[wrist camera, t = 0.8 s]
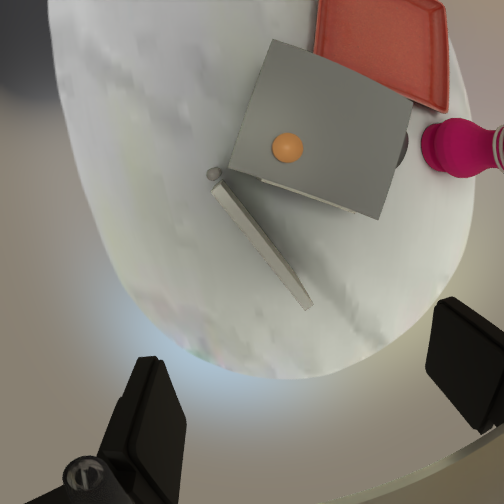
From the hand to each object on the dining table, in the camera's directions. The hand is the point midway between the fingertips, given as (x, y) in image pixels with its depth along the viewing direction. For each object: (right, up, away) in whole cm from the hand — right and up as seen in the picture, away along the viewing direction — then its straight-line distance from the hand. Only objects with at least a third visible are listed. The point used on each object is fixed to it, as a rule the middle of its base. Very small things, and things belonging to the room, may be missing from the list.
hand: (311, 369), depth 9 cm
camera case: (+4, +16, +22) cm, 28 cm away
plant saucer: (+14, +31, +19) cm, 39 cm away
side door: (-2, +7, +24) cm, 25 cm away
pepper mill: (+22, +17, +23) cm, 36 cm away
